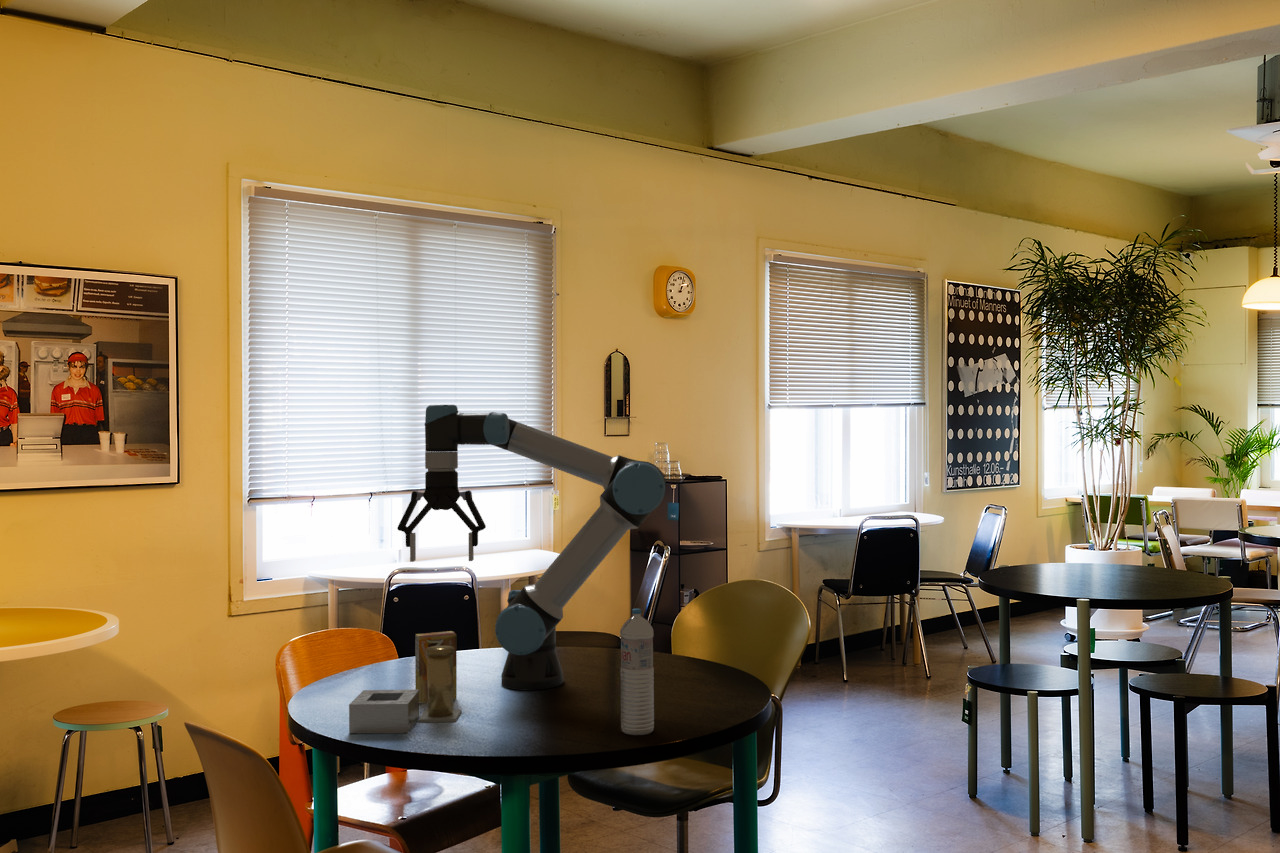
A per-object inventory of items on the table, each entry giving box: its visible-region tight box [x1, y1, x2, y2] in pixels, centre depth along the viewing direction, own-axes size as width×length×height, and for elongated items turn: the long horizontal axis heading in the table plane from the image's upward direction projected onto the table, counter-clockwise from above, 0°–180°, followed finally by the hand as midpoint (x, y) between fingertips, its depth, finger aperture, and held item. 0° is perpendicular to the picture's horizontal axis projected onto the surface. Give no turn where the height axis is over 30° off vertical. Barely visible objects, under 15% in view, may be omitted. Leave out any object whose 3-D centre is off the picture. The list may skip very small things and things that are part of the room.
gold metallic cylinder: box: [426, 646, 454, 717], centre depth 222 cm, size 6×6×14 cm
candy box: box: [414, 630, 458, 704], centre depth 237 cm, size 9×4×15 cm, turn 116°
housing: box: [348, 689, 420, 734], centre depth 216 cm, size 12×12×6 cm
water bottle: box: [619, 608, 655, 736], centre depth 210 cm, size 7×7×25 cm
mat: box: [417, 708, 462, 723], centre depth 222 cm, size 8×8×1 cm
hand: (442, 560), depth 240 cm, fingers open, 13 cm apart
